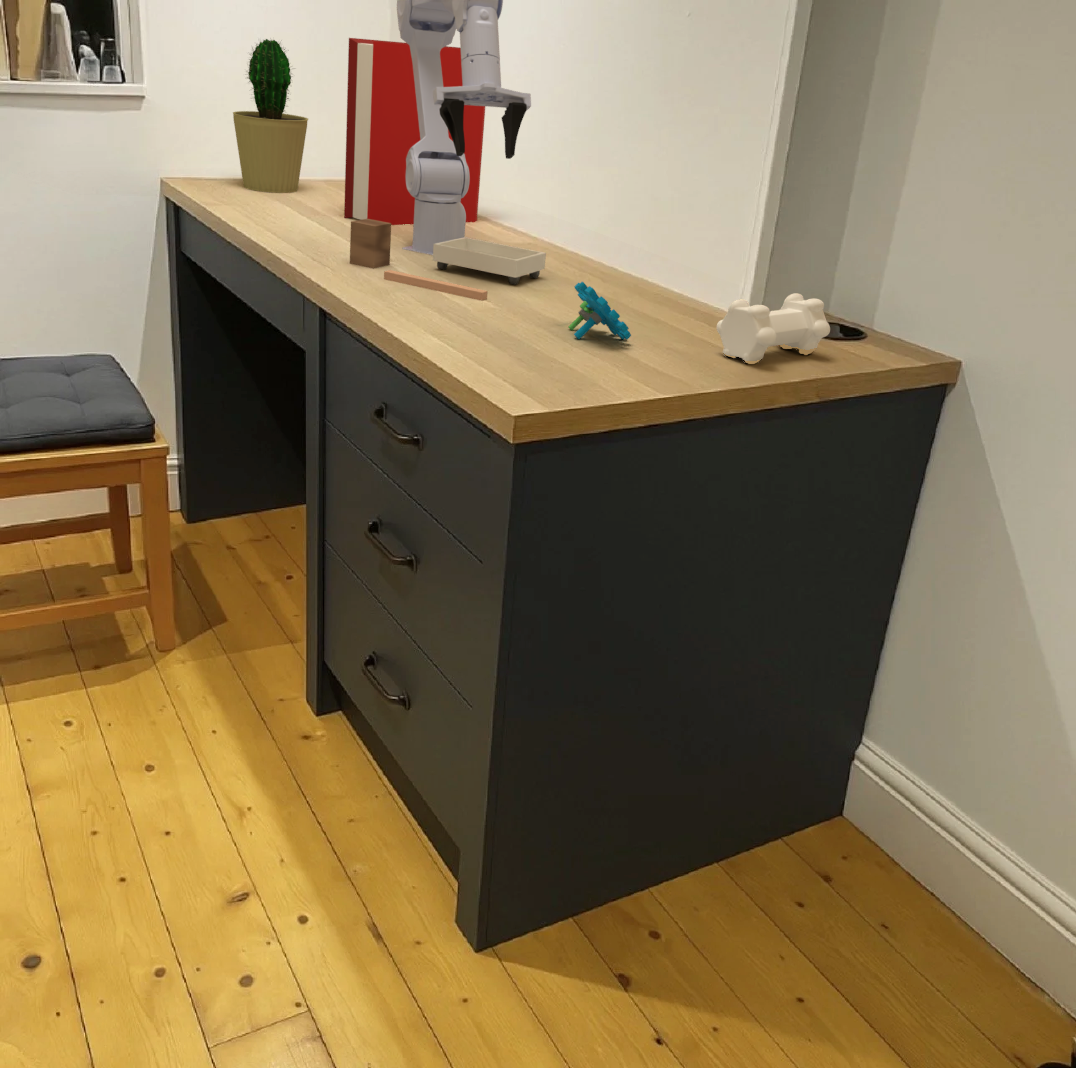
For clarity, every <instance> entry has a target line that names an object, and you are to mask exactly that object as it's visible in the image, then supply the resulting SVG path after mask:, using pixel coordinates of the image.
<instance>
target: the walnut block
mask: <svg viewBox="0 0 1076 1068" xmlns="http://www.w3.org/2000/svg"><path fill="white" fill-rule="evenodd" d="M349 237H350V240H349V242H350V245H349V247H350V248H349V264H351V265H355V266H361V267H365V268H370V269H373V270H374V269H377V268H382V267H386V266H390V264H391V243H392V242H391V241H392V239H391V238H392V225H391V223H387V222H382V221H377V220H372V219H363V220H360V219H357V220H351V221H350V236H349Z"/></svg>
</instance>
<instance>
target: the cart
mask: <svg viewBox="0 0 1076 1068" xmlns="http://www.w3.org/2000/svg"><path fill="white" fill-rule="evenodd" d="M546 257H547V253H546V252H543V251H538V250H534V249H529V248H523V247H519V246H513V245H508V244H503V243H498V242H495V241H494V242H493V241H488V240H487V241H486V240H483V239H478V238H473V237H468V236H465V237H463V238H459V239H454V240H449V241H445V242H440V243H435V244H434V245H433V255H432V262H433V261H434V262H436V267H437V268H438V269H440V270H444V271H445V270H447V268H448V266H449V265H453V266H458V267H462V268H468V269H473V270H478V271H482V272H485V273H491V274H496V275H502V276H506V277H508V284H511V285H515V286H516V285H518V284H519V282H520V278H521V277H523V276H526V275H528V276H529V277H530V278H532V279H538V278H539V277H540V273H541V271H543V270H545V267H546Z"/></svg>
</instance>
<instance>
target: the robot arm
mask: <svg viewBox="0 0 1076 1068" xmlns="http://www.w3.org/2000/svg"><path fill="white" fill-rule="evenodd" d="M503 3H504V0H396V13H397V14H396V15H397V24H398V30H399V36H400V39H401V40H402V41H404V43H407V44H408V45H409V46H410V51H411V57H412V64H413V73H414V82H415V92H416V102H417V111H418V121H419V131H420V141H419V142H417V143H416V144H415V145H413V146H412V147H411V148H410V150H409V152H408V154H407V157H406V187H407V190H408V192H409V193H410V194H411V195H412V196H413V197H414V198H415V206H414V224H413V225H412V226H413V229H412V231H413V232H412V245H409V246H408V245H407V246H404V247H402V250H406V251H411V252H414V253H415V252H416V253H420V254H425V255H429V256H430V255H431V256H433V245H434V244H435V243H440V242H445V241H449V240H454V239H459V238H463V237H466V236H465V235H466V223H467V222H466V212H465V209H464V207H463V205H462V204H461V198H463V197H464V196H465V195H466V193H467V191H468V188H469V182H470V174H469V168H468V165H467V163H466V159H465V154H464V153H465V139H464V127H463V120H464V105H473V106H485V107H489V108H503V109H504V108H505V110H504V114H503V115H502V117H501V121H502V126H503V134H504V153H505V159H510V160H511V159H512V158H513V157H514V156H515V153H516V146H517V145H516V144H517V141H518V140H517V139H518V135H519V132H520V128H521V125H522V121H523V119H524V117H525V114H526V112H527V111H528V110H530V109H531V107H532V97H531V93H528V92H520V91H516V90H513V89H509V88H504V87H502V76H501V75H502V73H501V58H500V57H501V56H500V54H501V53H500V40H499V39H500V38H499V37H500V36H499V19H500V17H501V14H502V11H503ZM456 32H457V33H458V32H459V41H460V42H459V44H460V48H461V66H462V84H463V86H458V87H443V78H442V69H441V60H440V51H441V49H442V48H443V47H445V46H449V45H451V44H452V43H453V39H454V37H455V34H456ZM448 130H449V132H450V134H451V137H452V140H453V141H452V140H451V139H450V138H449V135H448Z"/></svg>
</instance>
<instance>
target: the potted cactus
mask: <svg viewBox="0 0 1076 1068" xmlns="http://www.w3.org/2000/svg"><path fill="white" fill-rule="evenodd" d="M282 40H283V39H281V41H276V40H275V39H274V37H273V39H272V38H271V37H270V39H268V38H265V39H262V41H261V39H260V38H258V42H259V43H258V42H255V44H256V45H255V47H254V46H251V51H252V53H250V52H247V54H248V55H250V56H251V57H250V56H249V57H247V58H248V60H249V61H247V63H248V70H245V73H246V74H244V75H246V76H247V75H248V77H246V80H247V79H248V80H249V81H247V84H251V85H252V88H251V89H250V91H252V92H251V93H253V94H250V95H251V96H252V95H254V96H253V98H252V97H250V98H249V99H253V100H252V101H254V104H255V105H256V110H257V111H256V110H255V111H253V110H247V111H246V110H239V111H233V112H232V115H233V117H232V118H233V124H234V130H235V131H234V132H235V136H236V144H237V151H238V157H239V164H240V171H241V179H242V184H243V187H244V188H245V189H247V190H251V191H255V192H263V193H272V194H273V193H275V194H288V193H289V194H290V193H295V192H298V190H299V182H300V175H301V168H302V163H303V156H304V149H305V141H306V137H307V129H308V122H309V118H308V117H305V116H301V115H296V114H295V115H294V114H289V113H286V112H285V108H286V107H288V104H287V100H288V101H289V102H291V100H292V99H291V98H290V99H289V97H288V95H290V93H291V92H290V90H289V86H291V85H292V84H291V83H292V78H294V75H293V76H291V75H292V74H291V68H292V67H293V65H292V66H290V59H289V57H287V55H286V53H288V51H289V49H287V50H286V48H285V47H284V45H283V47H282V46H281V44H282ZM295 69H296V68H293V70H295Z"/></svg>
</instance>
